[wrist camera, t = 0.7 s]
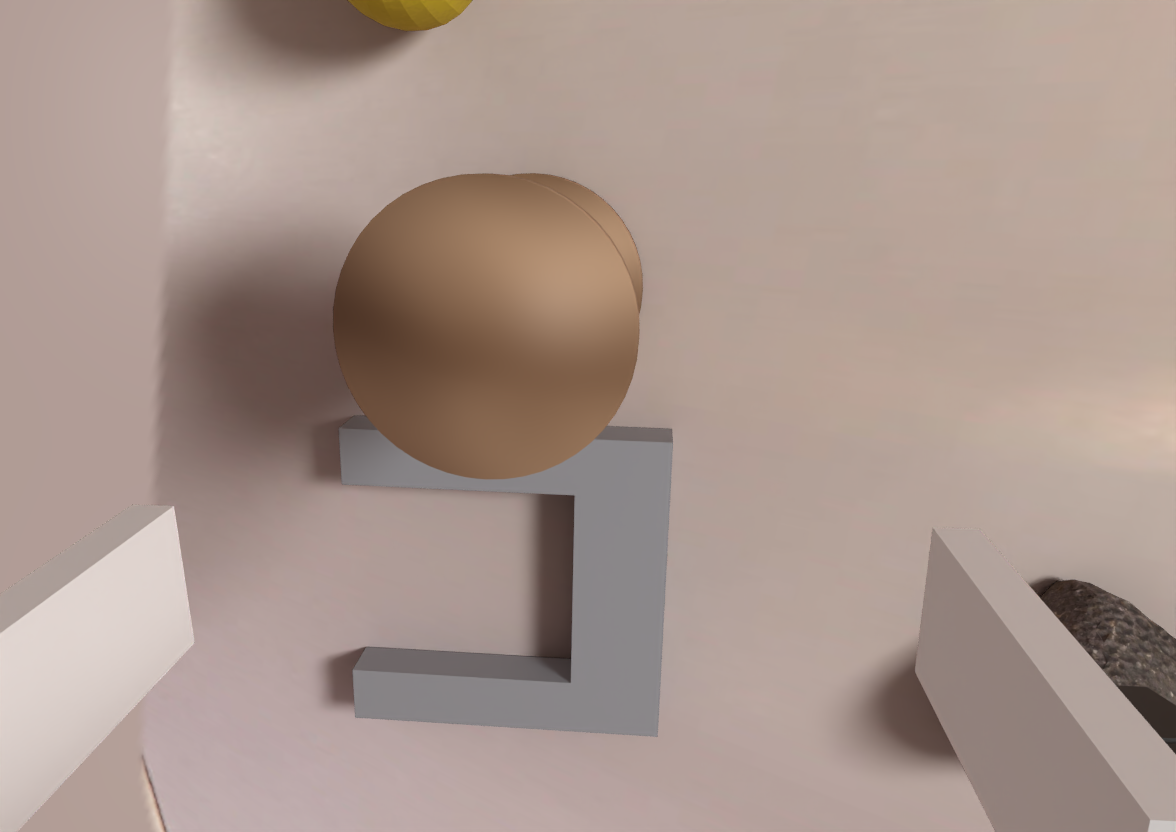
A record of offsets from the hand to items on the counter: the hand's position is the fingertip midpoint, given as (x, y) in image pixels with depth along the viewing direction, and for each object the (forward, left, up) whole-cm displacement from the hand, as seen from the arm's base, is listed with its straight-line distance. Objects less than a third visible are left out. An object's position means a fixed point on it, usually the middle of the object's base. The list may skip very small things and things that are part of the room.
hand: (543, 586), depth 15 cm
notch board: (+11, -4, -23) cm, 25 cm away
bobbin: (-2, -3, -23) cm, 23 cm away
